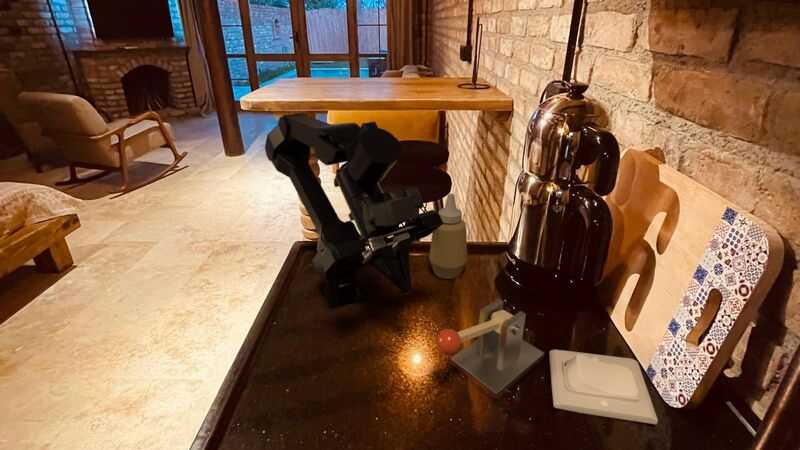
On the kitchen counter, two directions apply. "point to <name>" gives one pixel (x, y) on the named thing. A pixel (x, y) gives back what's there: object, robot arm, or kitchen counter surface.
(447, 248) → the squeeze bottle
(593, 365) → the light switch
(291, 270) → the kitchen counter surface
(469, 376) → the bracket
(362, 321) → the kitchen counter surface
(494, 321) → the lever
